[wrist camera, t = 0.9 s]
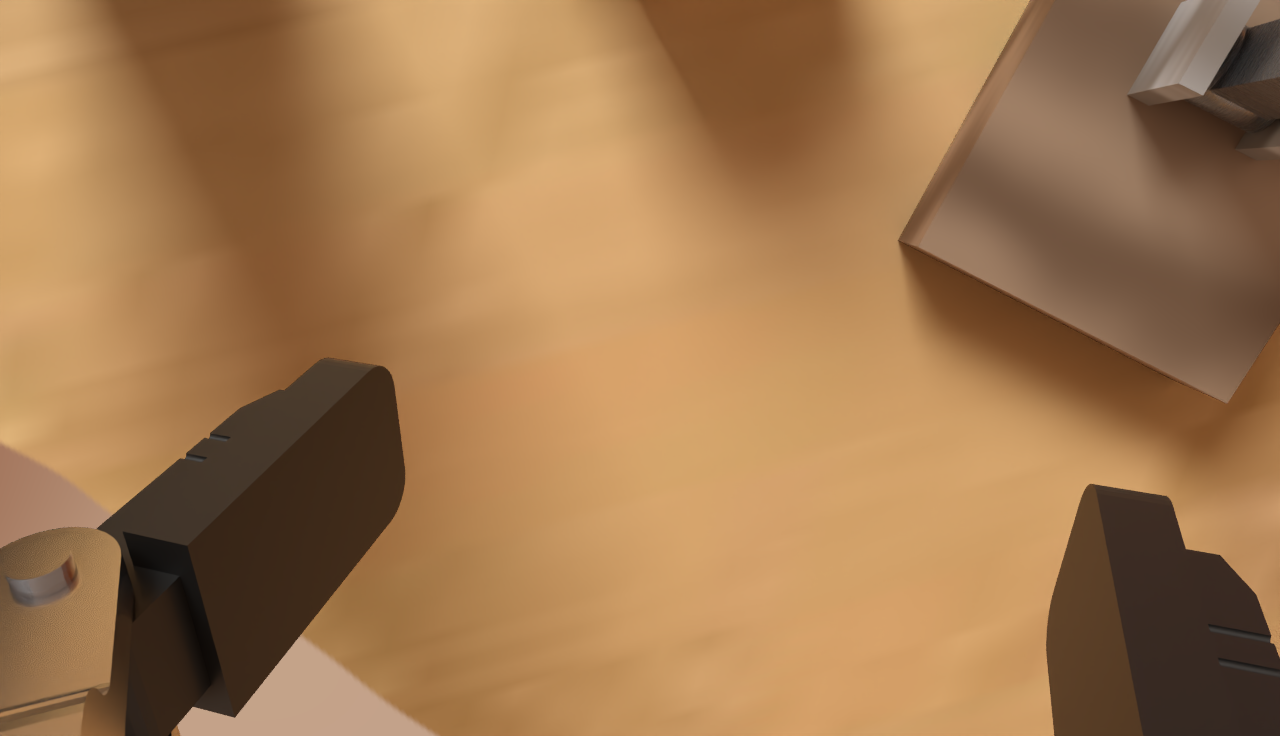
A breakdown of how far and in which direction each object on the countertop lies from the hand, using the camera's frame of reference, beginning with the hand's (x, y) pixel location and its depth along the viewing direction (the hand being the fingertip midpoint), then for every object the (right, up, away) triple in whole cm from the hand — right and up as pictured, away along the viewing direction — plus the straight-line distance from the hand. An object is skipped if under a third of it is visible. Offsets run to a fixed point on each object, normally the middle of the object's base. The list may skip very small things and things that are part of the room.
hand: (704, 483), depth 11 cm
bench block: (+18, +11, +25) cm, 33 cm away
